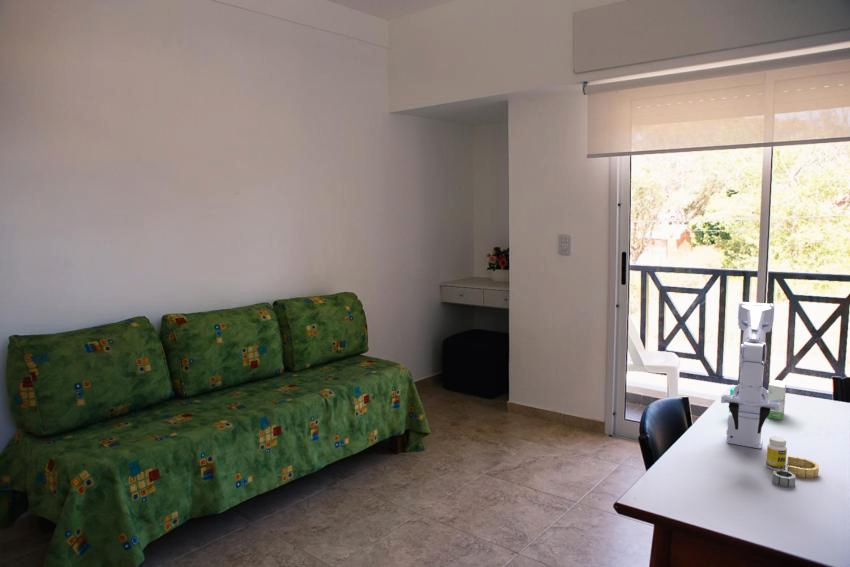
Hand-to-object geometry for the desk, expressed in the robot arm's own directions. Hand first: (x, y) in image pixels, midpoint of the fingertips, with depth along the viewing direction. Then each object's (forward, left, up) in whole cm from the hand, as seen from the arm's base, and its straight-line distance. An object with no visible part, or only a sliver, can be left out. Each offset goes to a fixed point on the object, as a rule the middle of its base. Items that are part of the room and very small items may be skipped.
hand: (747, 430), depth 173 cm
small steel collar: (+10, -10, -9) cm, 17 cm away
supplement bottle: (+8, 0, -10) cm, 12 cm away
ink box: (+7, +48, -10) cm, 49 cm away
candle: (-4, +38, -10) cm, 39 cm away
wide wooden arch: (+14, 0, -9) cm, 16 cm away
